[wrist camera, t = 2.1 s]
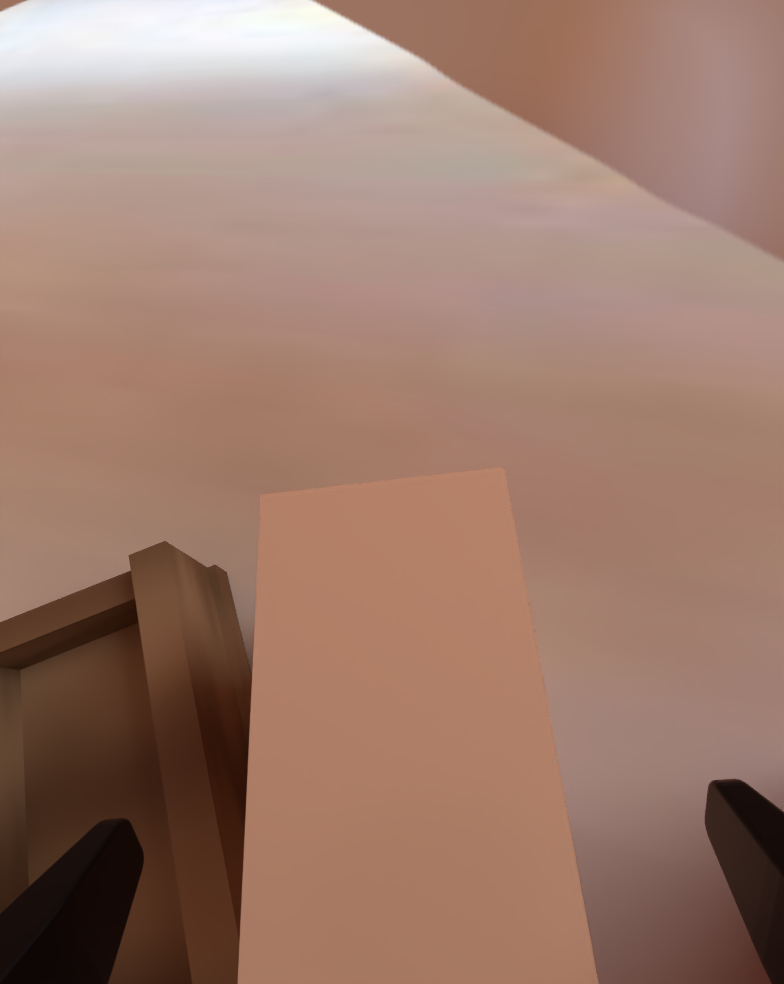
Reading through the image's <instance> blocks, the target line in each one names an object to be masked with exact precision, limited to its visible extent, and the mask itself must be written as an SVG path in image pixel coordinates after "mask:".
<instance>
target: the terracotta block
mask: <svg viewBox="0 0 784 984" xmlns="http://www.w3.org/2000/svg"><path fill="white" fill-rule="evenodd" d="M238 984H599V982H598V977H597V971H596V966H595V960H594V955H593V950H592V944H591V939H590V933H589V928H588V922H587V917H586V911H585V906H584V900H583V895H582V890H581V884H580V879H579V873H578V868H577V862H576V857H575V851H574V846H573V840H572V835H571V829H570V824H569V819H568V813H567V808H566V802H565V797H564V791H563V786H562V780H561V775H560V769H559V764H558V759H557V753H556V748H555V742H554V737H553V731H552V726H551V720H550V715H549V709H548V704H547V699H546V693H545V688H544V682H543V677H542V671H541V666H540V660H539V655H538V649H537V644H536V638H535V633H534V628H533V622H532V617H531V611H530V606H529V600H528V595H527V589H526V584H525V578H524V573H523V568H522V562H521V557H520V551H519V546H518V540H517V535H516V529H515V524H514V518H513V513H512V507H511V502H510V497H509V491H508V486H507V480H506V475H505V469H504V467H499V468H490V469H481V470H473V471H464V472H455V473H446V474H438V475H429V476H420V477H411V478H402V479H394V480H385V481H376V482H367V483H359V484H350V485H341V486H332V487H324V488H315V489H306V490H297V491H288V492H280V493H271V494H262V495H261V501H260V522H259V543H258V564H257V585H256V606H255V627H254V649H253V670H252V691H251V712H250V733H249V754H248V775H247V796H246V818H245V839H244V860H243V881H242V902H241V923H240V944H239V965H238Z"/></svg>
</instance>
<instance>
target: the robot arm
mask: <svg viewBox="0 0 784 984" xmlns="http://www.w3.org/2000/svg"><path fill="white" fill-rule="evenodd" d="M705 826H706V831H707V834H708V837H709V839H710V842H711V844H712V847H713V849H714V851H715V854H716V856H717V858H718V861H719V863H720V866H721V868H722V870H723V873H724V875H725V878H726V880H727V882H728V885H729V887H730V890H731V892H732V894H733V897H734V899H735V901H736V904H737V906H738V909H739V911H740V913H741V916H742V918H743V921H744V923H745V925H746V928H747V930H748V932H749V935H750V937H751V940H752V942H753V944H754V947H755V949H756V951H757V953H758V956H759V958H760V960H761V962H762V965H763V967H764V969H765V971H766V973H767V975H768V977H769V979H770V981H771V983H772V984H784V812H783V811H782V810H780V809H779V808H778V807H776V806H775V805H774V804H772V803H771V802H770V801H769V800H767V799H766V798H765V797H763V796H762V795H761V794H760V793H758V792H757V791H756V790H754V789H753V788H752V787H751V786H749V785H748V784H747V783H745V782H743V781H741V780H738V779H725V780H714V781H712V782H711V783H710V784H709V786H708V793H707V802H706V810H705ZM143 864H144V853H143V849H142V847H141V844H140V842H139V840H138V838H137V835H136V833H135V831H134V829H133V826H132V824H131V822H130V821H129V820H128V819H126V818H117V819H106V820H102V821H100V822H99V823H97V824H96V825H95V826H94V827H92V828H91V829H90V830H89V831H88V832H87V833H86V834H85V835H84V836H83V837H82V838H81V839H79V840H78V841H77V842H76V843H75V844H74V845H73V846H72V847H71V848H70V849H69V850H68V851H67V852H65V853H64V854H63V855H62V856H61V857H60V858H59V859H58V860H57V861H56V862H55V863H54V864H53V865H51V866H50V867H49V868H48V869H47V870H46V871H45V872H44V873H43V874H42V875H41V876H40V877H38V878H37V879H36V880H35V881H34V882H33V883H32V884H31V885H30V886H29V887H28V888H27V889H26V890H24V891H23V892H22V893H21V894H20V895H19V896H18V897H17V898H16V899H15V900H14V901H13V902H11V903H10V904H9V905H8V906H7V907H6V908H5V909H4V910H3V911H2V912H1V913H0V984H108V982H109V979H110V976H111V973H112V970H113V967H114V964H115V960H116V957H117V954H118V950H119V947H120V943H121V940H122V937H123V933H124V930H125V927H126V923H127V920H128V917H129V913H130V910H131V907H132V903H133V900H134V896H135V893H136V890H137V886H138V883H139V880H140V876H141V873H142V869H143Z"/></svg>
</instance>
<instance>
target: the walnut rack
mask: <svg viewBox="0 0 784 984" xmlns="http://www.w3.org/2000/svg"><path fill="white" fill-rule="evenodd" d="M129 560H130V567H131V571H129V572H126V573H124V574H121V575H119V576H116V577H114V578H111V579H109V580H106V581H103V582H101V583H98V584H96V585H93V586H91V587H88V588H86V589H83V590H81V591H78V592H76V593H73V594H71V595H68V596H66V597H63V598H61V599H58V600H56V601H53V602H50V603H48V604H45V605H43V606H40V607H38V608H35V609H33V610H30V611H28V612H25V613H23V614H20V615H18V616H15V617H13V618H10V619H8V620H5V621H3V622H0V913H1V912H2V911H3V910H4V909H5V908H6V907H7V906H8V905H9V904H10V903H11V902H13V901H14V900H15V899H16V898H17V897H18V896H19V895H20V894H21V893H22V892H23V891H24V890H26V889H27V888H28V887H29V886H30V885H31V884H32V883H33V882H34V881H35V880H36V879H37V878H38V877H40V876H41V875H42V874H43V873H44V872H45V871H46V870H47V869H48V868H49V867H50V866H51V865H53V864H54V863H55V862H56V861H57V860H58V859H59V858H60V857H61V856H62V855H63V854H64V853H65V852H67V851H68V850H69V849H70V848H71V847H72V846H73V845H74V844H75V843H76V842H77V841H78V840H79V839H81V838H82V837H83V836H84V835H85V834H86V833H87V832H88V831H89V830H90V829H91V828H92V827H94V826H95V825H96V824H97V823H99V822H100V821H102V820H106V819H117V818H126V819H128V820H129V821H130V822H131V824H132V826H133V829H134V831H135V833H136V835H137V838H138V840H139V842H140V844H141V847H142V849H143V853H144V864H143V869H142V873H141V876H140V880H139V883H138V886H137V890H136V893H135V896H134V900H133V903H132V907H131V910H130V913H129V917H128V920H127V923H126V927H125V930H124V933H123V937H122V940H121V943H120V947H119V950H118V954H117V957H116V960H115V964H114V967H113V970H112V973H111V976H110V979H109V982H108V984H238V965H239V944H240V923H241V902H242V881H243V860H244V839H245V818H246V796H247V775H248V754H249V733H250V712H251V691H252V677H251V673H250V669H249V665H248V660H247V656H246V652H245V648H244V644H243V639H242V635H241V631H240V627H239V623H238V618H237V614H236V610H235V606H234V602H233V597H232V593H231V589H230V585H229V581H228V576H227V572H226V571H224V570H223V569H221V568H220V567H218V566H217V565H213V566H211V567H208V568H207V567H206V566H204V565H202V564H201V563H199V562H198V561H196V560H195V559H193V558H191V557H190V556H188V555H187V554H185V553H183V552H182V551H180V550H179V549H177V548H175V547H174V546H172V545H171V544H169V543H168V542H166V541H164V542H161V543H159V544H156V545H154V546H151V547H149V548H146V549H144V550H141V551H138V552H136V553H133V554H131V555H129Z"/></svg>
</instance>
